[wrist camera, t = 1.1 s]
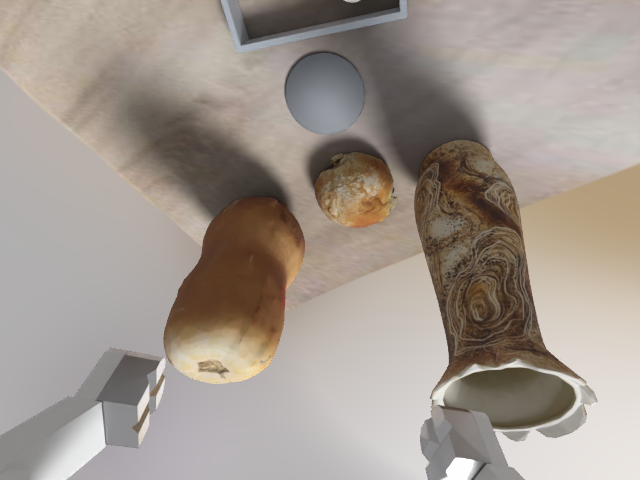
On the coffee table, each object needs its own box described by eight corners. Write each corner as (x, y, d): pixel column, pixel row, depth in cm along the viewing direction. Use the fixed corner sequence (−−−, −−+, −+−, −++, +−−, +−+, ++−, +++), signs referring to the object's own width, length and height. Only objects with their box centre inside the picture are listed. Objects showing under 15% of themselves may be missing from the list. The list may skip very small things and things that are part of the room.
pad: (358, 45, 39) (358, 45, 38) (369, 128, 44) (369, 128, 44) (276, 61, 41) (276, 61, 40) (296, 138, 46) (296, 139, 46)
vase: (511, 186, 46) (634, 435, 23) (431, 221, 51) (465, 454, 28) (479, 117, 41) (594, 341, 18) (394, 162, 46) (399, 384, 23)
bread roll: (367, 131, 48) (342, 137, 41) (418, 192, 48) (401, 208, 41) (319, 179, 54) (290, 191, 47) (364, 234, 53) (342, 254, 47)
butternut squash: (302, 262, 59) (261, 418, 40) (220, 241, 59) (139, 388, 40) (320, 191, 50) (279, 347, 31) (224, 166, 50) (122, 307, 31)
